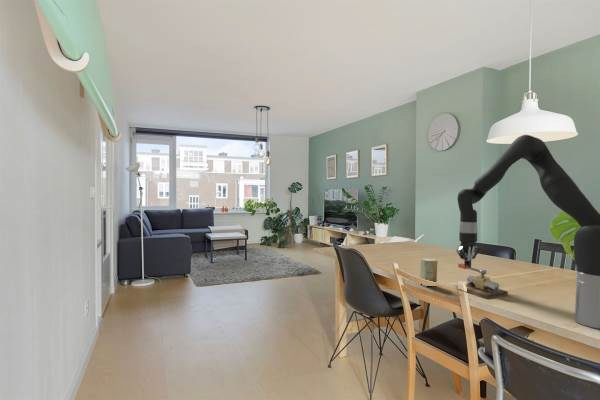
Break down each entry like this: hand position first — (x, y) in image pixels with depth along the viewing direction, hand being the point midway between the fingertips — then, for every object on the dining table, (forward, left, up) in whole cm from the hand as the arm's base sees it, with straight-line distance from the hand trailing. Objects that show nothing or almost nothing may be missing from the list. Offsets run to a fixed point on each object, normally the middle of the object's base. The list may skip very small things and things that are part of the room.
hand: (467, 268), depth 156 cm
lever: (-5, +3, 0) cm, 6 cm away
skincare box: (+6, +18, -8) cm, 21 cm away
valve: (-11, +4, -7) cm, 13 cm away
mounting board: (-10, +3, -8) cm, 13 cm away
